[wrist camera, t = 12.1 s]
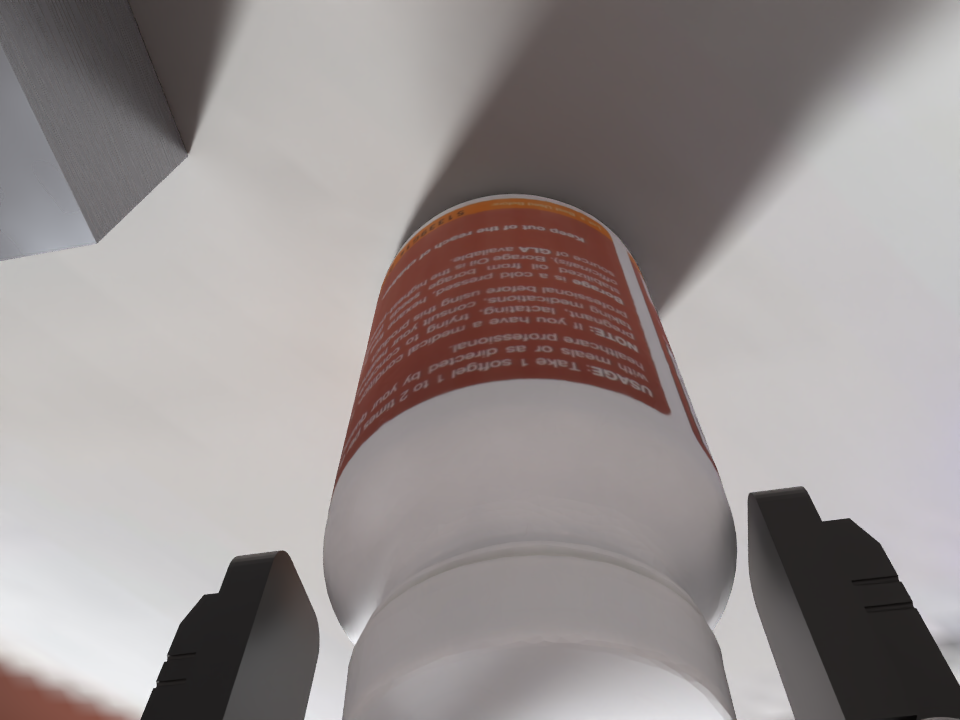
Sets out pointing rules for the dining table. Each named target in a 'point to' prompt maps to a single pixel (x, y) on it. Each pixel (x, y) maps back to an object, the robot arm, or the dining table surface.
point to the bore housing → (76, 123)
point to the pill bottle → (526, 486)
